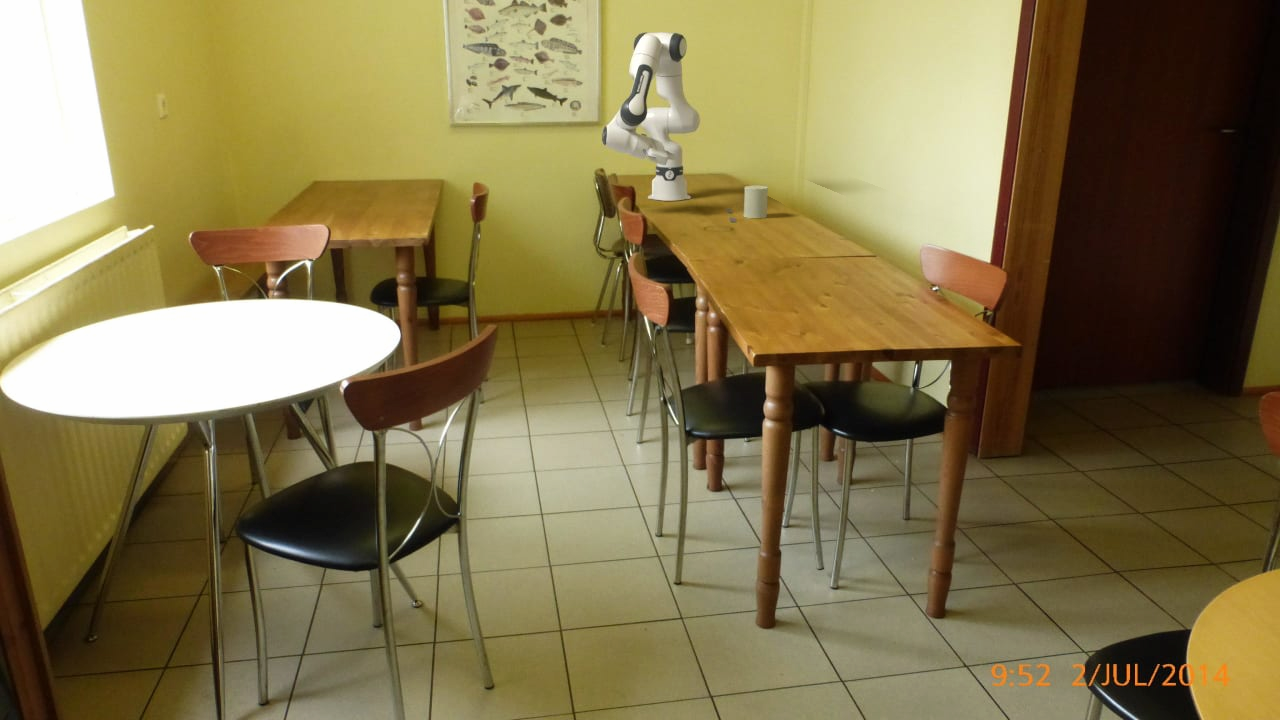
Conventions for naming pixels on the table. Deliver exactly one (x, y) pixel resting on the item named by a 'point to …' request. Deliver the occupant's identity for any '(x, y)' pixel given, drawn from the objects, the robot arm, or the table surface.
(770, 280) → the table surface
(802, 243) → the table surface
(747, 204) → the can
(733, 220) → the line strip
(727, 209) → the strip
